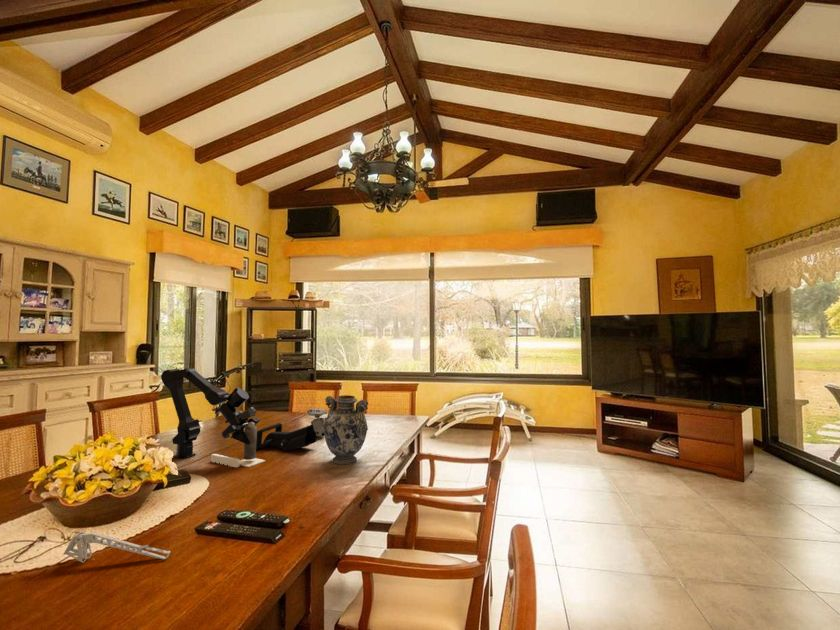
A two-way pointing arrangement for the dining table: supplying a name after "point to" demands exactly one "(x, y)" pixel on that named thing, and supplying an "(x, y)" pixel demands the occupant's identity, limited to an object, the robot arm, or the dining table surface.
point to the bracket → (93, 539)
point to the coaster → (250, 462)
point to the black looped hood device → (286, 437)
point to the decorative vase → (345, 427)
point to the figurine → (318, 421)
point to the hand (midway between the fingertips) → (253, 442)
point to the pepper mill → (252, 436)
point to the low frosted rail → (225, 460)
